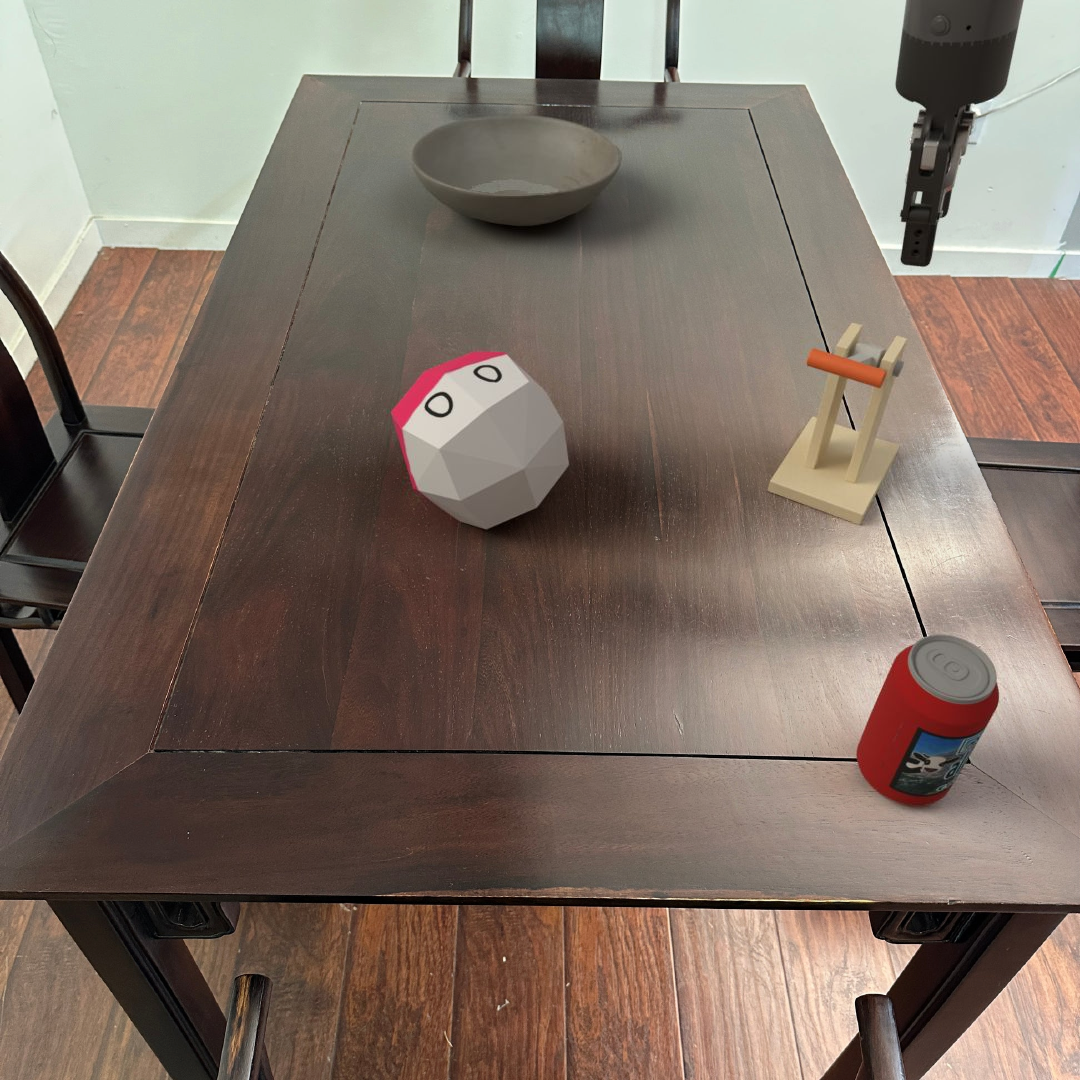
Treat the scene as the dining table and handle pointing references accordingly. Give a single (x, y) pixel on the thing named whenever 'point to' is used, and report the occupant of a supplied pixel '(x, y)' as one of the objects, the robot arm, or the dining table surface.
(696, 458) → the dining table surface
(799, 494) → the bracket
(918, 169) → the robot arm
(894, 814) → the dining table surface
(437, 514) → the dining table surface
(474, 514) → the decorative object
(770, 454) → the dining table surface
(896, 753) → the beverage can
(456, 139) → the bowl
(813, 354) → the lever
